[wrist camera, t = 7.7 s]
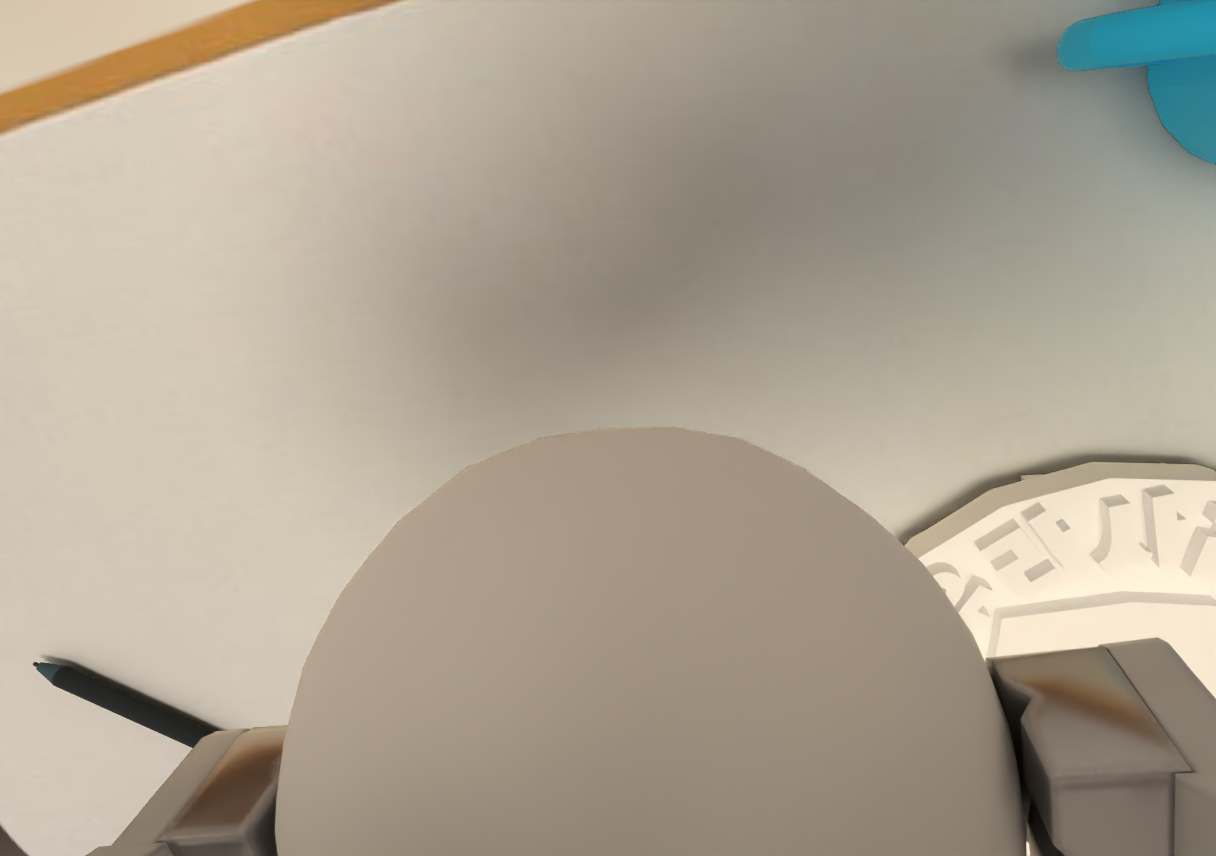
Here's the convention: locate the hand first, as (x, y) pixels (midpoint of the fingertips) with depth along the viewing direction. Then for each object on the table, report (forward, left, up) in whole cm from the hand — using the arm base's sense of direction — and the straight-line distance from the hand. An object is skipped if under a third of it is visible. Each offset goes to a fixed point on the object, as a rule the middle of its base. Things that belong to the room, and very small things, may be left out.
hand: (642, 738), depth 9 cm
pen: (+16, -29, -22) cm, 40 cm away
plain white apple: (0, 0, -3) cm, 3 cm away
